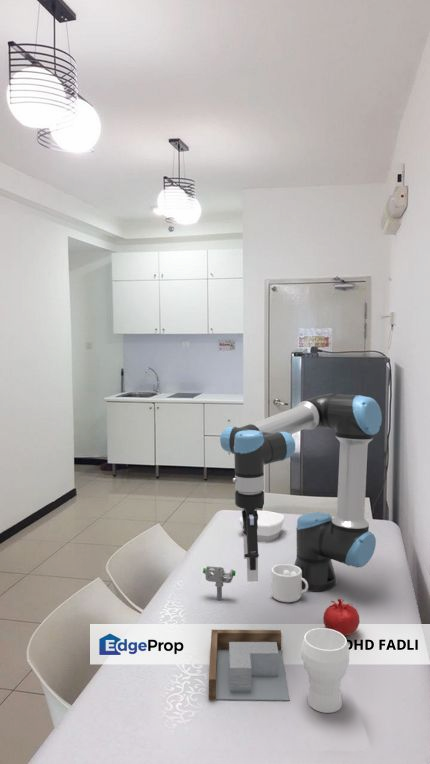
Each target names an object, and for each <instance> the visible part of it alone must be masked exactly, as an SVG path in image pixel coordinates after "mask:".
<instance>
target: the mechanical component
mask: <svg viewBox="0 0 430 764" xmlns="http://www.w3.org/2000/svg"><path fill="white" fill-rule="evenodd" d="M202 573H203V574H205V575H204V576H205V580H206V581H207V582H212V583H215V584H214V585H215V587H216V600H217V599H218V600H217V601H221V600H222V599H223V592H222V591H223V587H224V583H225V584H230V583H232V581H233V578H234V577H235V576H236V570H234V569H233V568H231V569H230V571H229V572H226V571H225V568H224V567H222V566H210V565H209V566H208V565H206V567H203V570H202ZM221 598H222V599H221Z"/></svg>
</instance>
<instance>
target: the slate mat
mask: <svg viewBox="0 0 430 764" xmlns="http://www.w3.org/2000/svg"><path fill="white" fill-rule="evenodd" d="M282 651H283V650H282V649H281V650H278V653H279V669H278V677H251V692H230V676H229V650H217V678H216V700H215V701H237V702H238V701H242V702H243V701H246V702H247V701H250V702H251V701H252V702H263V701H264V702H291V701H290V694H289V687H288V682H287V676H286V669H285V662H284V658H283V652H282Z"/></svg>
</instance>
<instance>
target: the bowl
mask: <svg viewBox="0 0 430 764" xmlns="http://www.w3.org/2000/svg"><path fill="white" fill-rule="evenodd" d="M257 514H258V521H257V523H258V529H257V539H258V542H264V543H269V542H272V541H275V540H277V539H278V537H280V533H281V530H282V528H283V526H284V523H285V518H286V517H285V515H284V514H281V513H279V512H275V511H274V512H273V511H270V510H269V511H268V510H257ZM238 521H239V524H240V526H241V529H242V532H243V531H244V530H243V517H242V515H241V516H240V517H239V520H238ZM244 535H246V534H244V533H243V536H244Z"/></svg>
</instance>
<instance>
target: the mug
mask: <svg viewBox="0 0 430 764" xmlns="http://www.w3.org/2000/svg"><path fill="white" fill-rule="evenodd" d="M270 576H271V577H270V578H271V583H270V588H271V596H272V597H273V598H274V599H275V600H277V601H279V602H281V603H294V602H297V601H298V600H299V599H301V597H302V594H305V593H306V592H307V591H309V590H308V583H307V581H306V580H305V579H304V578H302V570H301V569H300V568H299V567H298V566H295V565H294V564H290V563H279V564H276V565H273V566H272V567H271V575H270ZM302 581H303V582H304V583H305V585H306V587H305V589H302Z"/></svg>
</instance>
